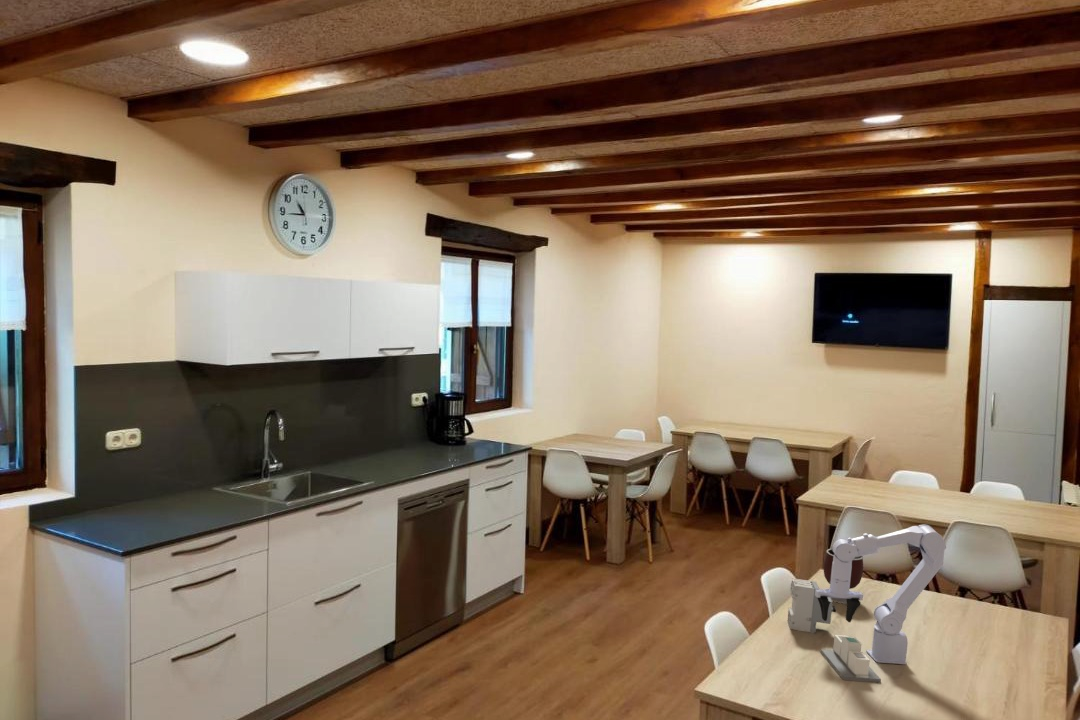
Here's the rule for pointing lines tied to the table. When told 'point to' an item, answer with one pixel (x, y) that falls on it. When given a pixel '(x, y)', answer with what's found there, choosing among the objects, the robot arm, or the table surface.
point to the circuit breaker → (806, 606)
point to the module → (849, 647)
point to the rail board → (845, 670)
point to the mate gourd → (855, 572)
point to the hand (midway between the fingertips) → (836, 620)
